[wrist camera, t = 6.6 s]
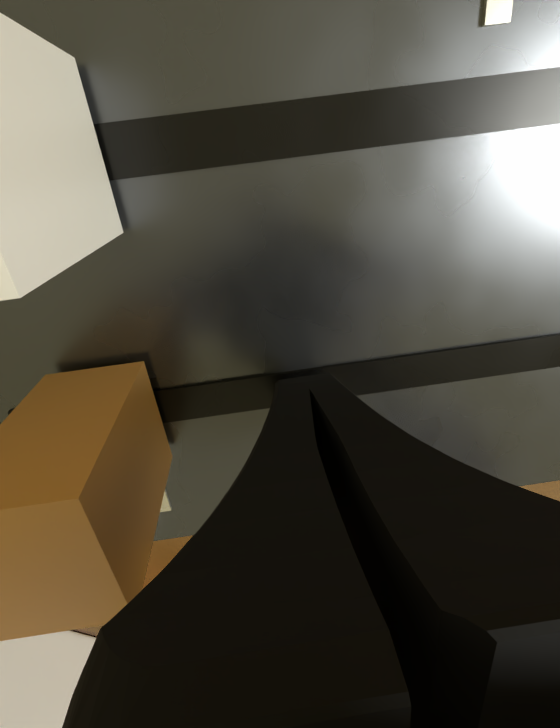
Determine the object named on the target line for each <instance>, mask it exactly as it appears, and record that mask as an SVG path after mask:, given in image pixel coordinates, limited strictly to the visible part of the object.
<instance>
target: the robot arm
mask: <svg viewBox="0 0 560 728" xmlns="http://www.w3.org/2000/svg"><path fill="white" fill-rule="evenodd" d="M62 728H560V501H557V500H554V499H551V498H548V497H546V496H543V495H540V494H537V493H534V492H531V491H529V490H526V489H524V488H521V487H518V486H516V485H513V484H511V483H508V482H506V481H503V480H501V479H498V478H496V477H494V476H492V475H489V474H487V473H485V472H482V471H480V470H478V469H476V468H473V467H471V466H469V465H467V464H464V463H462V462H460V461H458V460H456V459H454V458H452V457H450V456H448V455H446V454H444V453H442V452H441V451H439V450H437V449H435V448H433V447H431V446H429V445H428V444H426V443H424V442H422V441H420V440H419V439H417V438H415V437H413V436H412V435H410V434H408V433H407V432H405V431H404V430H402V429H401V428H399V427H398V426H396V425H395V424H393V423H392V422H390V421H389V420H387V419H386V418H384V417H383V416H381V415H380V414H379V413H377V412H376V411H375V410H374V409H372V408H371V407H370V406H368V405H367V404H366V403H364V402H363V401H362V400H361V399H359V398H358V397H357V396H356V395H355V394H353V393H352V392H351V391H350V390H349V389H347V388H346V387H345V386H344V385H343V384H342V383H341V382H339V381H338V380H337V379H336V378H335V377H334V376H332V375H331V374H330V373H324V374H317V375H310V376H303V377H296V378H289V379H282V380H278V381H277V383H276V384H275V390H274V395H273V399H272V403H271V406H270V410H269V412H268V415H267V418H266V420H265V423H264V425H263V428H262V430H261V433H260V435H259V437H258V439H257V441H256V443H255V445H254V447H253V449H252V451H251V453H250V455H249V457H248V459H247V461H246V463H245V464H244V466H243V468H242V470H241V471H240V473H239V475H238V476H237V478H236V479H235V481H234V482H233V484H232V486H231V487H230V489H229V490H228V491H227V493H226V494H225V496H224V497H223V498H222V500H221V501H220V503H219V504H218V505H217V507H216V508H215V510H214V511H213V512H212V514H211V515H210V516H209V517H208V519H207V520H206V521H205V523H204V524H203V525H202V526H201V527H200V529H199V530H198V531H197V532H196V533H195V534H194V535H193V537H192V538H191V539H190V540H189V541H188V542H187V543H186V545H185V546H184V547H183V548H182V549H181V550H180V551H179V552H178V554H177V555H176V556H175V557H174V558H173V559H172V560H171V562H170V563H169V564H168V565H167V566H166V567H165V568H164V569H163V570H162V571H161V572H160V573H159V574H158V575H157V576H156V577H155V578H154V579H153V580H152V581H151V582H150V583H149V584H148V585H147V586H146V587H145V588H144V589H143V590H142V591H141V592H139V593H138V594H137V595H136V596H135V597H134V598H133V599H132V600H131V601H130V602H129V603H128V604H127V605H126V606H125V607H124V608H123V609H122V610H120V611H119V612H118V613H117V614H116V615H115V616H114V617H113V618H112V619H111V620H110V621H108V622H107V623H106V624H105V625H104V626H103V627H102V628H101V629H100V631H99V633H98V635H97V638H96V640H95V642H94V645H93V647H92V650H91V652H90V654H89V657H88V659H87V661H86V664H85V666H84V668H83V670H82V673H81V675H80V678H79V680H78V683H77V685H76V688H75V690H74V693H73V695H72V698H71V701H70V704H69V707H68V710H67V714H66V717H65V720H64V723H63V726H62Z"/></svg>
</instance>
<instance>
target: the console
mask: <svg viewBox="0 0 560 728" xmlns="http://www.w3.org/2000/svg"><path fill="white" fill-rule="evenodd" d="M0 13H2V14H3V15H5V16H7V17H8V18H10V19H12V20H13V21H15V22H17V23H18V24H20V25H22V26H23V27H25V28H27V29H28V30H30V31H31V32H33V33H35V34H36V35H38V36H40V37H41V38H43V39H45V40H46V41H48V42H50V43H51V44H53V45H55V46H56V47H58V48H59V49H61V50H63V51H64V52H66V53H68V54H69V55H71V56H73V57H74V58H75V61H76V64H77V68H78V72H79V75H80V79H81V82H82V86H83V89H84V93H85V97H86V100H87V104H88V107H89V111H90V114H91V118H92V122H93V125H94V129H95V132H96V136H97V139H98V143H99V147H100V150H101V154H102V157H103V161H104V164H105V168H106V172H107V175H108V179H109V182H110V186H111V189H112V193H113V197H114V200H115V204H116V207H117V211H118V214H119V218H120V222H121V225H122V229H123V232H124V233H122V234H121V235H119V236H117V237H116V238H114V239H113V240H111V241H110V242H108V243H106V244H105V245H103V246H102V247H100V248H99V249H97V250H95V251H94V252H92V253H91V254H89V255H87V256H86V257H84V258H83V259H81V260H80V261H78V262H76V263H75V264H73V265H72V266H70V267H69V268H67V269H65V270H64V271H62V272H61V273H59V274H57V275H56V276H54V277H53V278H51V279H50V280H48V281H46V282H45V283H43V284H42V285H40V286H39V287H37V288H35V289H34V290H32V291H31V292H29V293H27V294H26V295H24V296H23V297H21V298H17V299H10V300H2V301H0V424H1V423H2V422H3V421H4V420H5V419H6V418H7V417H8V415H9V414H10V413H11V412H12V411H13V410H14V409H15V408H16V407H17V405H18V404H19V403H20V402H21V401H22V400H23V399H24V398H25V397H26V396H27V394H28V393H29V392H30V391H31V390H32V389H33V388H34V387H35V386H36V384H37V383H38V382H39V381H40V380H41V379H42V378H43V377H44V376H45V375H47V374H54V373H61V372H69V371H76V370H83V369H90V368H98V367H105V366H112V365H119V364H127V363H134V362H141V361H144V363H145V366H146V370H147V373H148V376H149V380H150V383H151V386H152V390H153V393H154V396H155V400H156V403H157V406H158V410H159V413H160V416H161V420H162V423H163V426H164V430H165V433H166V436H167V440H168V443H169V446H170V450H171V453H172V456H173V457H172V461H171V465H170V470H169V474H168V479H167V483H166V487H165V492H164V496H163V500H162V505H161V509H160V514H159V518H158V522H157V527H156V531H155V535H154V540H153V541H157V540H164V539H170V538H177V537H184V536H190V535H194V534H195V533H196V532H197V531H198V530H199V529H200V527H201V526H202V525H203V524H204V523H205V521H206V520H207V519H208V517H209V516H210V515H211V514H212V512H213V511H214V510H215V508H216V507H217V505H218V504H219V503H220V501H221V500H222V498H223V497H224V496H225V494H226V493H227V491H228V490H229V489H230V487H231V486H232V484H233V482H234V481H235V479H236V478H237V476H238V475H239V473H240V471H241V470H242V468H243V466H244V464H245V463H246V461H247V459H248V457H249V455H250V453H251V451H252V449H253V447H254V445H255V443H256V441H257V439H258V437H259V435H260V433H261V430H262V428H263V425H264V423H265V420H266V418H267V415H268V412H269V410H270V406H271V403H272V399H273V395H274V390H275V384H276V383H277V381H278V380H282V379H289V378H296V377H303V376H310V375H317V374H324V373H330V374H331V375H332V376H334V377H335V378H336V379H337V380H338V381H339V382H341V383H342V384H343V385H344V386H345V387H346V388H347V389H349V390H350V391H351V392H352V393H353V394H355V395H356V396H357V397H358V398H359V399H361V400H362V401H363V402H364V403H366V404H367V405H368V406H370V407H371V408H372V409H374V410H375V411H376V412H377V413H379V414H380V415H381V416H383V417H384V418H386V419H387V420H389V421H390V422H392V423H393V424H395V425H396V426H398V427H399V428H401V429H402V430H404V431H405V432H407V433H408V434H410V435H412V436H413V437H415V438H417V439H419V440H420V441H422V442H424V443H426V444H428V445H429V446H431V447H433V448H435V449H437V450H439V451H441V452H442V453H444V454H446V455H448V456H450V457H452V458H454V459H456V460H458V461H460V462H462V463H464V464H467V465H469V466H471V467H473V468H476V469H478V470H480V471H482V472H485V473H487V474H489V475H492V476H494V477H496V478H498V479H501V480H503V481H506V482H508V483H511V484H513V485H516V486H524V485H531V484H537V483H544V482H551V481H557V480H560V0H0Z"/></svg>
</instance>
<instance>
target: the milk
mask: <svg viewBox="0 0 560 728" xmlns="http://www.w3.org/2000/svg"><path fill="white" fill-rule="evenodd" d="M95 640H96V637H92V636H89V635H85V634H81V633H78V632H74V631H70V630H69V631H63V632H56V633H50V634H43V635H37V636H30V637H24V638H17V639H11V640H4V641H0V728H62V726H63V723H64V720H65V717H66V714H67V710H68V707H69V704H70V701H71V698H72V695H73V693H74V690H75V688H76V685H77V683H78V680H79V678H80V675H81V673H82V670H83V668H84V666H85V664H86V661H87V659H88V657H89V654H90V652H91V650H92V647H93V645H94V642H95Z"/></svg>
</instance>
